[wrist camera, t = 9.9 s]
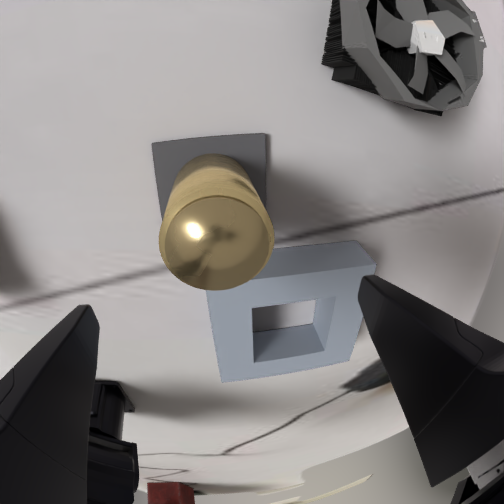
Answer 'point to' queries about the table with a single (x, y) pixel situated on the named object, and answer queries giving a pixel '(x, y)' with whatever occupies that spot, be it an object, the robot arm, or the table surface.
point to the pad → (234, 146)
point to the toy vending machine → (170, 493)
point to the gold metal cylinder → (215, 225)
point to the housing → (290, 291)
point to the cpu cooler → (407, 51)
